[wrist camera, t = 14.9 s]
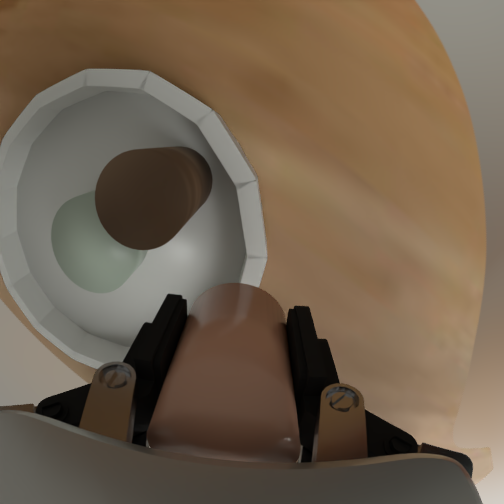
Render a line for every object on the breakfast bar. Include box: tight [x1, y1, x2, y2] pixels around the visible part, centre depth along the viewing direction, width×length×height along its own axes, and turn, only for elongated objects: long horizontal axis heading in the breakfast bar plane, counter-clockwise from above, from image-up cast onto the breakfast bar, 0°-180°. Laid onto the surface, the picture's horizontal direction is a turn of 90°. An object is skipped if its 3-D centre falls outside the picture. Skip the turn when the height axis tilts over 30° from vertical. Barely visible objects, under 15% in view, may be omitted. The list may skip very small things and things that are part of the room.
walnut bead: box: [95, 146, 213, 250], centre depth 13 cm, size 4×4×6 cm
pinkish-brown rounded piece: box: [147, 283, 301, 463], centre depth 9 cm, size 4×4×6 cm
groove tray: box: [0, 69, 267, 369], centre depth 17 cm, size 20×20×4 cm
